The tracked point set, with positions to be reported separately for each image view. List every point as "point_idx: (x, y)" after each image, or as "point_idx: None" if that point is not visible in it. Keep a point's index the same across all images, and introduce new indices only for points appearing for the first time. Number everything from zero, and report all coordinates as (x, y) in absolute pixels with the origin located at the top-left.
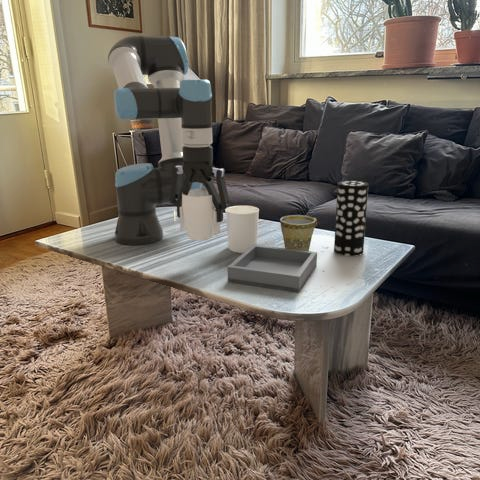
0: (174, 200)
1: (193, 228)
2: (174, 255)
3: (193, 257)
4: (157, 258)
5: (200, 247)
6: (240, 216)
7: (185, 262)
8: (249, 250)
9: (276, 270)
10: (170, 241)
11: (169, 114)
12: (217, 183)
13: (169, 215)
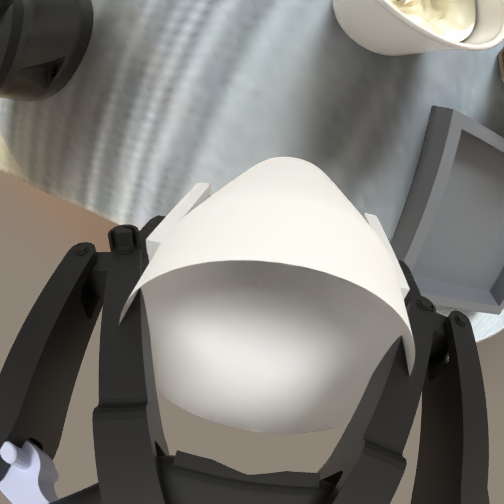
0: (101, 294)
1: (270, 289)
2: (178, 114)
3: (243, 115)
4: (147, 151)
5: (231, 23)
6: (452, 47)
7: (235, 161)
8: (446, 169)
9: (482, 224)
10: (120, 16)
11: None
12: (418, 483)
13: None
